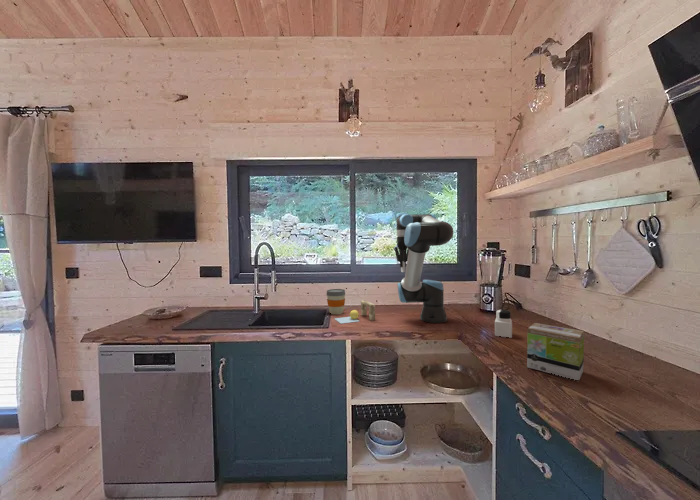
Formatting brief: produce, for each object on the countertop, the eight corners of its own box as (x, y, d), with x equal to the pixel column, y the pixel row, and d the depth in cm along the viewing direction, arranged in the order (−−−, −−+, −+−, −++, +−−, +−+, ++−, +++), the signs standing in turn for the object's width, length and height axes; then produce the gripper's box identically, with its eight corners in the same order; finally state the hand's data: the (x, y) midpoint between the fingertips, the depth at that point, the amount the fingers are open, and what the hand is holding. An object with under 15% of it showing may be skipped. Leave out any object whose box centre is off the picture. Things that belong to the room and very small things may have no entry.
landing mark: (359, 321, 168) (359, 321, 168) (340, 323, 164) (340, 323, 164) (352, 316, 180) (352, 316, 180) (334, 318, 175) (334, 318, 175)
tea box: (526, 368, 102) (526, 327, 102) (533, 360, 109) (533, 321, 109) (580, 382, 92) (580, 336, 91) (584, 372, 99) (584, 329, 98)
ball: (354, 309, 170) (349, 317, 170) (361, 314, 172) (356, 322, 171) (351, 307, 176) (346, 314, 175) (358, 311, 177) (353, 319, 176)
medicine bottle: (512, 334, 140) (511, 309, 140) (511, 338, 134) (511, 313, 134) (495, 332, 144) (495, 308, 143) (494, 336, 138) (494, 311, 137)
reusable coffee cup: (323, 313, 189) (322, 290, 189) (335, 309, 199) (334, 288, 199) (337, 316, 182) (337, 292, 181) (349, 312, 192) (349, 289, 191)
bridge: (365, 314, 184) (365, 300, 184) (375, 320, 170) (374, 304, 170) (361, 315, 183) (360, 300, 183) (370, 320, 169) (370, 305, 169)
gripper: (407, 236, 195) (408, 270, 196) (391, 236, 190) (391, 272, 191) (414, 236, 188) (414, 271, 189) (396, 236, 183) (397, 273, 184)
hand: (403, 271), depth 190 cm, fingers closed
